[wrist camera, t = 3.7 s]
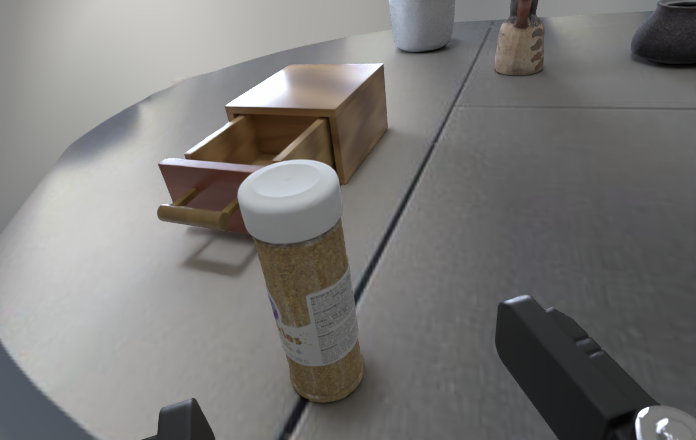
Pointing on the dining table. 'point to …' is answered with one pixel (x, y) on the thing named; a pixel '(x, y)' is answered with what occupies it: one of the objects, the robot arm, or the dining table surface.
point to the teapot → (668, 33)
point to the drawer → (238, 166)
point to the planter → (421, 23)
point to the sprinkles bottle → (306, 273)
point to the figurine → (520, 40)
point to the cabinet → (326, 105)
